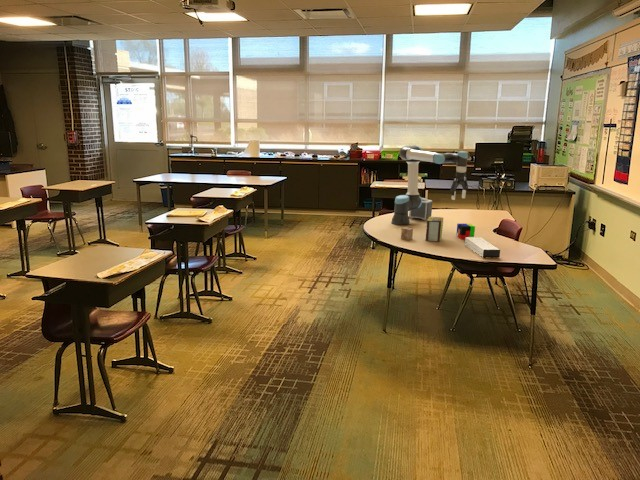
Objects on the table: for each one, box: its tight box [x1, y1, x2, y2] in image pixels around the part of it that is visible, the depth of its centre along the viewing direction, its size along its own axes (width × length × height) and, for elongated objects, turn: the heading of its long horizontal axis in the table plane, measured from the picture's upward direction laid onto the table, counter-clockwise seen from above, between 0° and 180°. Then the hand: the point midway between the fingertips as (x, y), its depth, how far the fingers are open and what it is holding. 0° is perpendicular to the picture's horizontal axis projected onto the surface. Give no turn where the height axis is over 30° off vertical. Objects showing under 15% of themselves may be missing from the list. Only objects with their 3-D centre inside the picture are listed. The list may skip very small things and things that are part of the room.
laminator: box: [464, 236, 501, 258], centre depth 341 cm, size 34×12×6 cm, turn 4°
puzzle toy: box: [455, 223, 476, 240], centre depth 378 cm, size 10×10×10 cm
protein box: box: [425, 216, 444, 243], centre depth 371 cm, size 10×15×16 cm
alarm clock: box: [408, 197, 433, 222], centre depth 443 cm, size 18×13×18 cm
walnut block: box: [400, 226, 414, 241], centre depth 370 cm, size 6×6×8 cm
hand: (458, 198), depth 391 cm, fingers open, 13 cm apart
